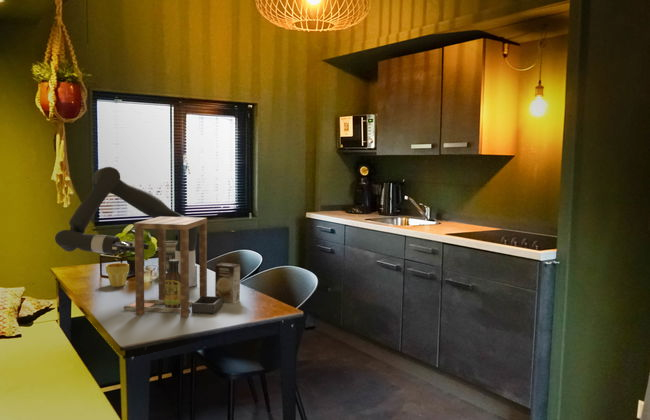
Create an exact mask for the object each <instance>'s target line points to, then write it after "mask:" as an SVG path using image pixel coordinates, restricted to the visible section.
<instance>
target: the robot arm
mask: <svg viewBox="0 0 650 420" xmlns="http://www.w3.org/2000/svg"><path fill="white" fill-rule="evenodd" d="M92 180H93V182H94V186H93V188H92V190H91V192H90V193H88V196H87V197H86V198H85V199H84V200H83V201H82V202H81V203H80V204H79V206H78V207H77V208H76V210H75V211H74V213H73V215H72V216H71V218H70V219H69V221H68V224H69V227H70V229H62V230H60V231H58V232H57V233H56V234H55V236H54V241H55V243H56V244H57V246H58V247H60V248H62V249H63V250H64V251H66V252H69V253H70V252H74V251H75V250H76V249H79V250H81V251H83V252H91V253H98V254H105V255H114V256H115V255H118V254H119V253H123V254H124V253H131V252H133V253H135V241H130V240H122V241H121V237H119V236H116V235H106V234H91V233H90V234H88V233H87V234H86V233H85V232H86V229H87V228H88V225H89V224H90V222H91V221H92V219H94V216H95V214H96V213H97V211H98V209H99V208H100V206H101V205H102V203H103V202H104V201H105V199H106V198H107V197H108V195H110V194H112V195H114V196H116V197H118V198H120V199H121V200H123V201H124V202H125V203H127V204H128V205H130V206H132V207H133V208H135V209H136V210H137V211H140V212H141V213H143V214H144V215H147V216H149V217H150V218H151V219H153V218H156V217H160V216H161V217H187V216H185V215H184V214H183V215H182V214H180V213H179V212H176V211H175V210H173V209H171V208H170V207H169V206H167V205H166V203H164V202H163V201H162V200H161V199H160V198H159V197H157V196H155V195H154V194H153V193H150V192H149V191H147V190H145V189H143V188H140V187H137V186H134V185H131V184H129V183H127V182H126V181H124V180H122V179H121V173H120V171H119V170H118V169H117V168H115V167H114V166H106V167H105V166H104V167H101V168H99V169H97V170H96V171H95V172H94V174H93V176H92ZM172 231H173V232H174V233H176V234H177V241H178V242H177V244H176V245H175V259H177V260H179V264H178V272H179V274H180V230H172ZM197 242H198V226H196V227H193V228H190V229H189V288H191V287H194V286H197V285H198V266H197V265H196V245H197ZM149 246H150V244H149V243H144V250H149V248H150V247H149Z"/></svg>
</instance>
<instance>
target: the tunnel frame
mask: <svg viewBox="0 0 650 420" xmlns="http://www.w3.org/2000/svg"><path fill="white" fill-rule="evenodd" d="M133 224H134V225H133V227H134V228H133V229H134V242H135V252H134V273H135V274H134V275H135V280H134V281H135V302H136V306H129V305H124V306H123V310H124V311H135V316H143V315H145V312H157V313H158V312H159V313H177V314H178V313H180V318H186V319H188V317H190V314H191V308H190V306H191V307H192V303H193V302H194V301H195V300H194V301H193V300H190V292H189V291H190V287H189V229H190V228H193V227H196V226H197V227H198V229H199V234H198V235H199V237H198V239H199V240H198V241H199V246H198V247H199V248H198V249H199V263H198V264H199V298H200V297H201V296H208V272H207V271H208V262H207V261H208V259H207V258H208V255H207V254H208V252H207V251H208V239H207V238H208V232H207V231H208V226H207V225H208V217H191V216H190V217H189V216H186V217H161V216H160V217H156V218H149V219H144V220H141V221H137V222H133ZM145 229H147V230H157V250H158V251H157V252H158V261H157V262H158V267H157V268H158V269H157V270H158V299H151V298H150V299H149V298H148V299H147V298H145V259H144V258H145V257H144V256H145V253H144V250H145V249H144V244H145V243H144V230H145ZM167 230H172V231H173V230H180V282H181V303H180V308H165V306H164V307H161V306H159V307H157V306H151V307H144V302H146V303H156V304H155V305H165V281H166V273H167V272H166V241H167V240H166V239H167V238H166V237H167V232H166V231H167Z"/></svg>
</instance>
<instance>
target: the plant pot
mask: <svg viewBox="0 0 650 420" xmlns="http://www.w3.org/2000/svg"><path fill="white" fill-rule="evenodd" d="M129 272H130V264H129V263H126V262H125V263H124V262H115V263H110V264H109V263H108V264H106V265H105V273H106V274H107V277H108V280H109V285H110V287H113V288H115V287H117V288H119V287H124V286H125V285H126V282H127V278H128V273H129Z"/></svg>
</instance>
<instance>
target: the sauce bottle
mask: <svg viewBox="0 0 650 420" xmlns="http://www.w3.org/2000/svg"><path fill="white" fill-rule="evenodd" d="M178 264H179V260H177V259H171V260H169V272H168V274H167V275H166V281H165V304H164V308H181V305H180V303H181V282H180V274H179V272H178Z"/></svg>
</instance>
